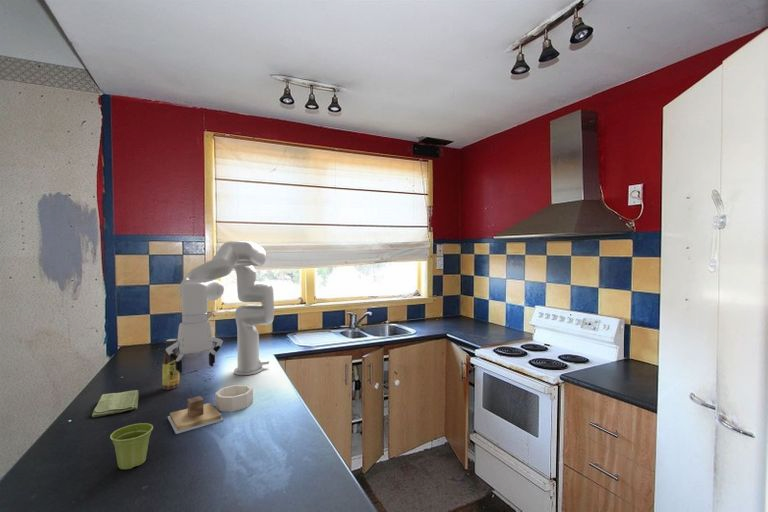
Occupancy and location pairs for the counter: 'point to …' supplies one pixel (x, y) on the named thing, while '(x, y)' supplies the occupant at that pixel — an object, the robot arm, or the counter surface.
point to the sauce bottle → (170, 368)
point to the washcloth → (116, 403)
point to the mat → (191, 427)
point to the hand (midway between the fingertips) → (195, 368)
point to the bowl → (233, 398)
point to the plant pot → (131, 444)
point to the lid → (195, 414)
